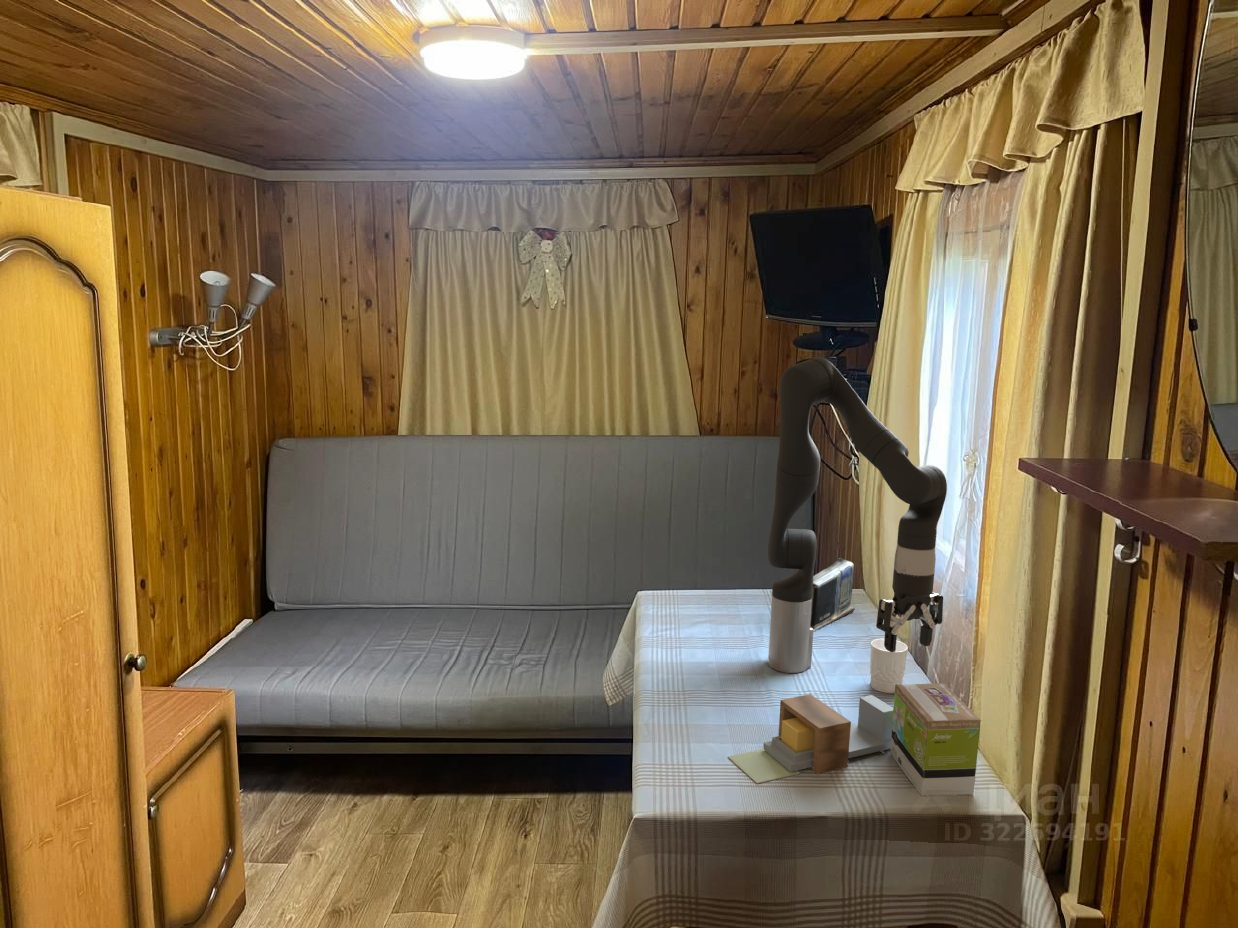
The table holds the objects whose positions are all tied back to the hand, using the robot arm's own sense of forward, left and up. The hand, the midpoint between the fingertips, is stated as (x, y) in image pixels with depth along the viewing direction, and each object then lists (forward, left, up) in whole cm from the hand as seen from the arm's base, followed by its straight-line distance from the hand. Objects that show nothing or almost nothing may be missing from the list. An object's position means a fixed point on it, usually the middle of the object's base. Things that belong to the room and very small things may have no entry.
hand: (907, 647), depth 174 cm
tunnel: (+21, 0, -18) cm, 28 cm away
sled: (+17, 0, -18) cm, 25 cm away
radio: (-27, -60, -19) cm, 68 cm away
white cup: (-13, -19, -19) cm, 29 cm away
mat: (+32, 0, -18) cm, 37 cm away
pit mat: (+12, 0, -18) cm, 22 cm away
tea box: (+5, +14, -19) cm, 24 cm away
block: (+24, 0, -17) cm, 29 cm away
